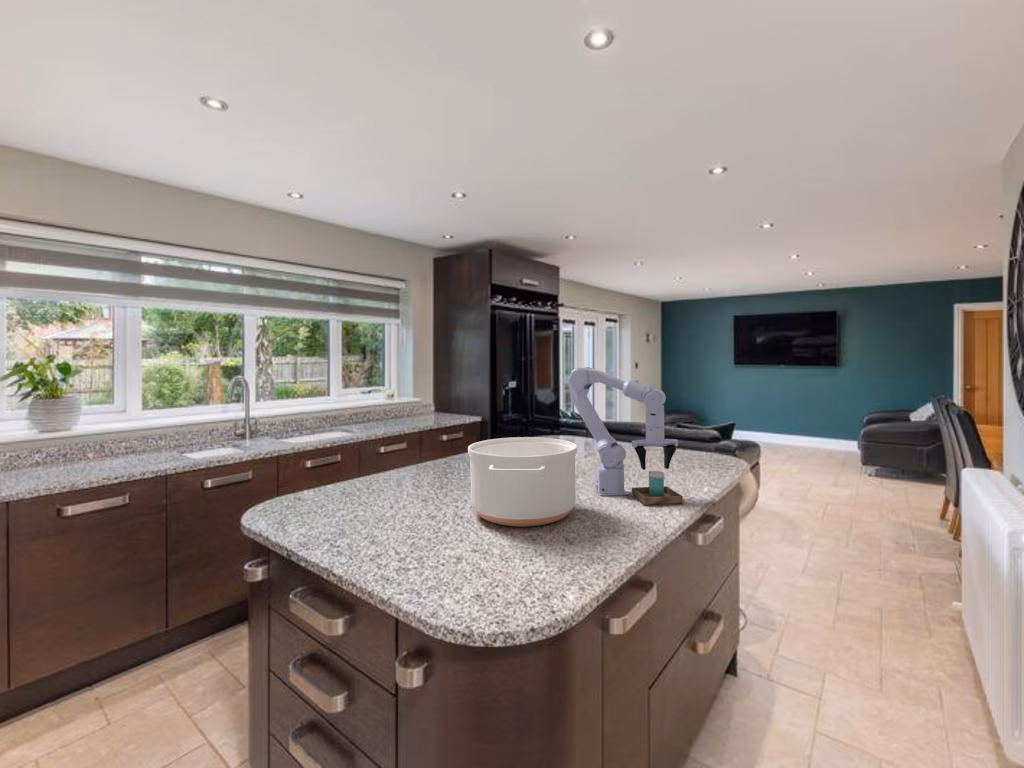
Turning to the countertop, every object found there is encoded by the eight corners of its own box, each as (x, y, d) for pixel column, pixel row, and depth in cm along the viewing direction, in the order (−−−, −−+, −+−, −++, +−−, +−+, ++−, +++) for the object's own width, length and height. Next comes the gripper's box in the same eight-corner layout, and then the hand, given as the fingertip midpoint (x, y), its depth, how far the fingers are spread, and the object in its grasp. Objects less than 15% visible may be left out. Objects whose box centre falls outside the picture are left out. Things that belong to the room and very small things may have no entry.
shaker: (650, 499, 153) (650, 474, 153) (647, 495, 158) (647, 470, 158) (665, 499, 153) (665, 474, 152) (662, 495, 158) (662, 470, 157)
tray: (644, 505, 149) (644, 497, 149) (631, 495, 161) (631, 487, 161) (682, 504, 150) (682, 496, 150) (667, 493, 162) (667, 486, 162)
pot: (580, 541, 121) (579, 460, 120) (454, 538, 125) (452, 460, 124) (576, 494, 162) (575, 434, 161) (481, 493, 166) (480, 434, 165)
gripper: (636, 429, 152) (636, 472, 153) (682, 428, 153) (682, 470, 154) (629, 426, 159) (629, 467, 160) (673, 424, 160) (673, 465, 161)
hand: (654, 468), depth 157 cm, fingers open, 7 cm apart
